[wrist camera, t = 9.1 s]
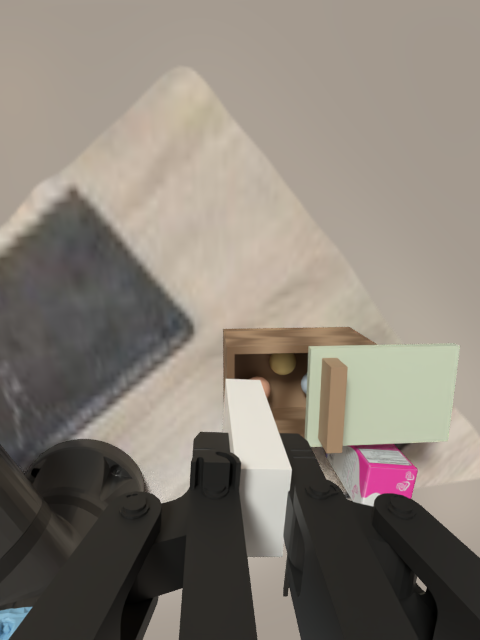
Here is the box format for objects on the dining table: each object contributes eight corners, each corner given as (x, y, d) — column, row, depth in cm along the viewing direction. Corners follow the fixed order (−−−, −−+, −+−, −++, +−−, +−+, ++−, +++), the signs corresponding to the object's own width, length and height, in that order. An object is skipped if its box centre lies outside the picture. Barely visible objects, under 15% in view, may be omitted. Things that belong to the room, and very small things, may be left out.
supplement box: (365, 459, 53) (408, 518, 42) (324, 456, 53) (356, 515, 42) (374, 420, 52) (420, 470, 41) (332, 417, 52) (367, 466, 40)
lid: (304, 442, 43) (314, 462, 39) (308, 346, 40) (319, 357, 37) (442, 436, 44) (465, 456, 40) (454, 343, 42) (479, 354, 38)
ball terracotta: (243, 397, 49) (245, 408, 46) (243, 372, 48) (245, 382, 45) (268, 396, 49) (272, 407, 46) (268, 372, 48) (273, 381, 45)
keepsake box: (223, 412, 50) (226, 444, 42) (223, 329, 48) (226, 346, 40) (344, 407, 52) (368, 438, 44) (349, 327, 49) (376, 344, 41)
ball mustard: (267, 370, 48) (271, 379, 45) (267, 345, 48) (272, 352, 45) (292, 369, 49) (298, 378, 46) (293, 344, 48) (299, 352, 45)
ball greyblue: (297, 391, 49) (304, 402, 46) (298, 367, 49) (305, 376, 46) (322, 391, 50) (330, 401, 47) (323, 367, 49) (331, 376, 46)
